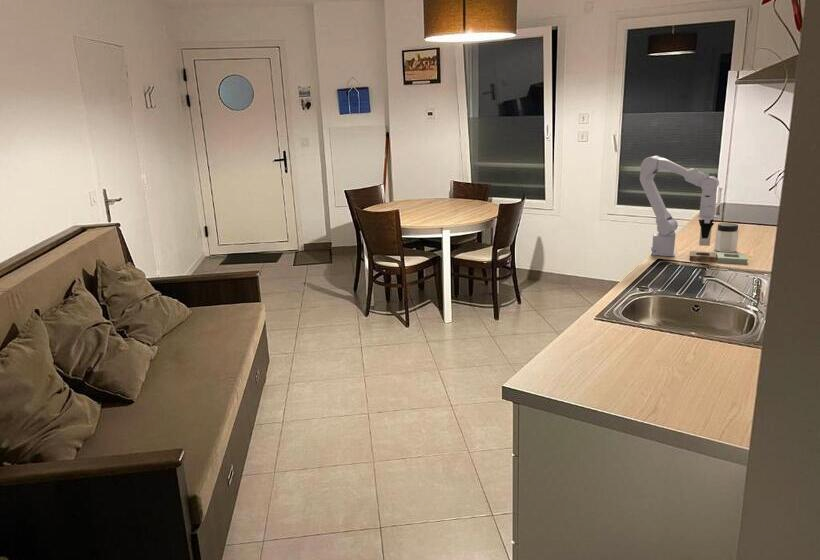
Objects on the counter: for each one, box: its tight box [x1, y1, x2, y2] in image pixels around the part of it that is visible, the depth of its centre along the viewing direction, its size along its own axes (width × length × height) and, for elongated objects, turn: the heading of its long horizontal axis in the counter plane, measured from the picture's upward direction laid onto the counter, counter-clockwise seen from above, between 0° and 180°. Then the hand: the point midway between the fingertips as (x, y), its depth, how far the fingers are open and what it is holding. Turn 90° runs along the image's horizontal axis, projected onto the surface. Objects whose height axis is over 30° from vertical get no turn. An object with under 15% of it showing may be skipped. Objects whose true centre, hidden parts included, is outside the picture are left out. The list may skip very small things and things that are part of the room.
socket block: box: [689, 250, 717, 263], centre depth 263 cm, size 10×10×2 cm
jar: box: [713, 222, 739, 253], centre depth 275 cm, size 9×8×12 cm
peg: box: [698, 226, 713, 247], centre depth 261 cm, size 4×4×8 cm
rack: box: [715, 251, 748, 265], centre depth 259 cm, size 11×11×2 cm
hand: (704, 237), depth 261 cm, fingers closed on peg, 4 cm apart
